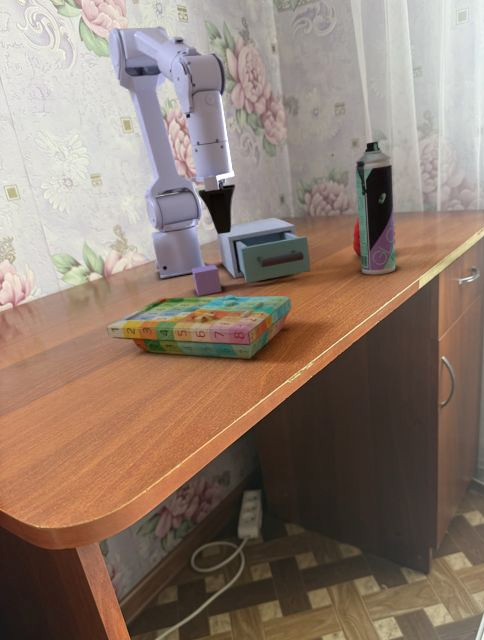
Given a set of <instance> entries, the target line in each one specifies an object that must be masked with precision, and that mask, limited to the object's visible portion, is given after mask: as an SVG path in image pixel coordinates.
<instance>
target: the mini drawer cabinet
mask: <svg viewBox="0 0 484 640" xmlns="http://www.w3.org/2000/svg"><path fill="white" fill-rule="evenodd" d="M284 231H286V232H288V233H291V234H293V235H295V236H297V234H296V233H297V232H296V225H295V224H293V223H290V222H287V221H285V220H282V219H279V218H277V217H270V218H263V219H257V220H251V221H247V222H240V223H236V224H235V223H234V224H231V231H230V232H229V233H222V234H218V233H217V232H216V235H217V240H218V241H217V242H218V246H219V252H220V258H221V264H222V265H223V267H225V269H226V270H227V271H228V272H229V273H230V274H231V275H232V276H233V278H234V279H237V278H243V277H245V276H244V273H243V272H242V271H241V270H240V269H239V268H238V267H237V263H236V257H235V250H234V244H233V241H234V240H239V239H245V238H250V237H256V236H262V235H267V234H273V233H278V232H284Z"/></svg>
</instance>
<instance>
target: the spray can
mask: <svg viewBox="0 0 484 640" xmlns="http://www.w3.org/2000/svg"><path fill="white" fill-rule="evenodd" d="M391 159H392V157H391V156H389V155H387V154H386V153H384V152H383V149H381V147H379V141H372V142H367V143H366V149H364V151H363V155H362V156H360V157H359V159H358V160H356V161H355V164H356V165H355V181H356V196H357V211H358V213H357V214H358V217H359V231H360V247H361V257H360V261H361V273H362V274H365V275H384V274H389V273H391V272H394V271H395V270H396V247H395V245H396V242H395V243H394V239H395V236H394V231H395V220H394V219H395V217H394V190H393V162H392V161H391Z"/></svg>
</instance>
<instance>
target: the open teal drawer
mask: <svg viewBox="0 0 484 640" xmlns="http://www.w3.org/2000/svg"><path fill="white" fill-rule="evenodd" d="M233 244H234V250H235V257H236V263H237V267H238V268H239V269H240V270H241V271H242V272H243V273H244V276H243V277H244V282H245V283H246V284H249V283H254V282H259V281H264V280H268V279H269V280H270V279H274V278H280V277H284V276H290V275H295V274H300V273H304V272H305V273H306V272H310V271H311V263H310V253H309V243H308V236H304V235H303V236H298V235H296V236H295V235H293V234H291V233H288V232H286V231H284V232H278V233H273V234H267V235H262V236H256V237H250V238H245V239H239V240H234V241H233Z"/></svg>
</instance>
